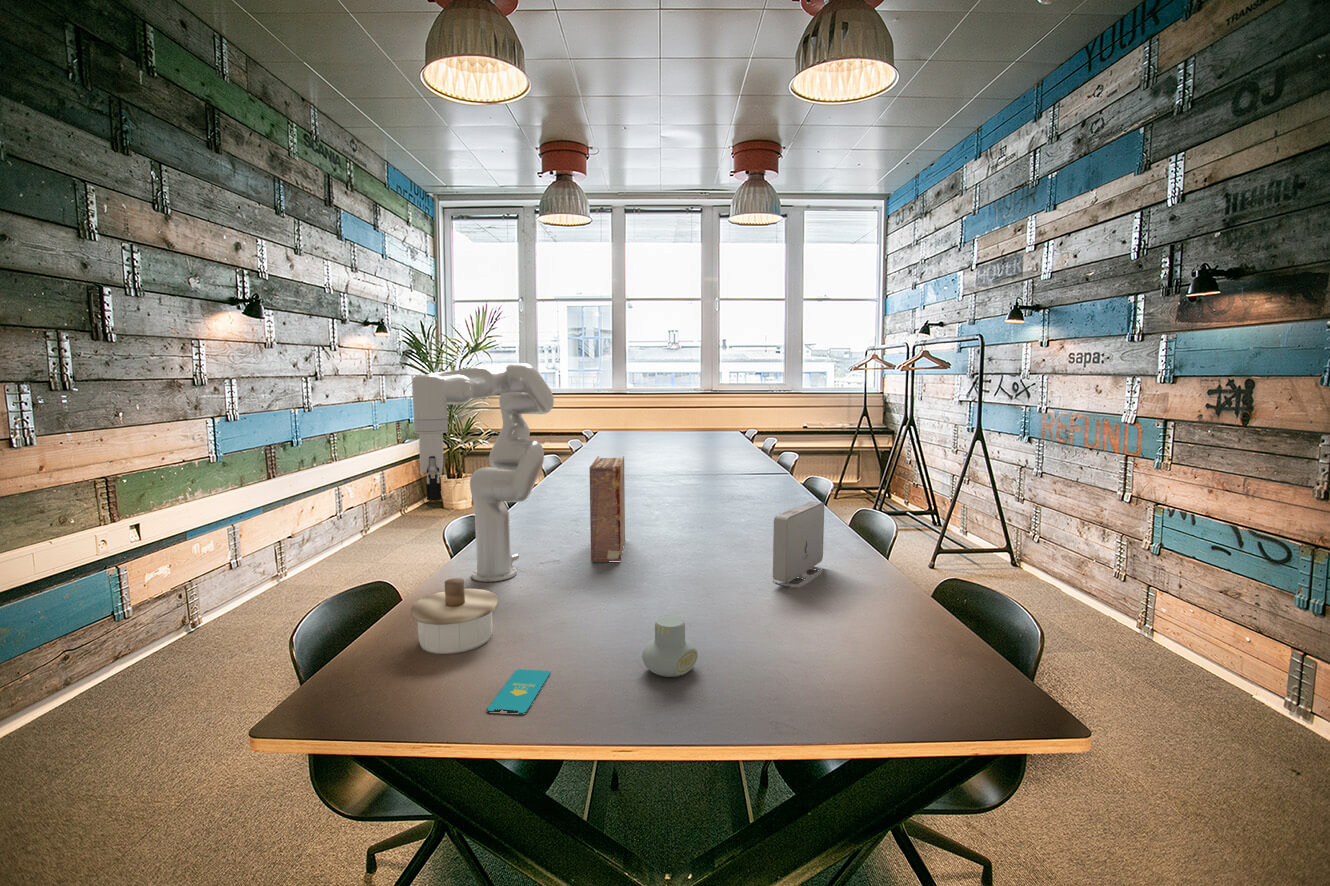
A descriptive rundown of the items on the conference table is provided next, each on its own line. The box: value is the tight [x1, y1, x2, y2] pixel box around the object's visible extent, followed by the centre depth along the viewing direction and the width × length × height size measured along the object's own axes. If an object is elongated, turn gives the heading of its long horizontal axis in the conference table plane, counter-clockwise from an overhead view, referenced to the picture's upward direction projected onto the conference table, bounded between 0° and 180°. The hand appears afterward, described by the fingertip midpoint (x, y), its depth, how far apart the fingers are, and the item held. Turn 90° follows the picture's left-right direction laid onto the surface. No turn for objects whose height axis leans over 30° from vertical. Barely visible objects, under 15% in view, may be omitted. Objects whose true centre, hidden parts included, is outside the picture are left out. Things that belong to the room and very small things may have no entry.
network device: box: [772, 500, 825, 588], centre depth 170 cm, size 26×9×20 cm, turn 143°
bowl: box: [417, 611, 494, 655], centre depth 131 cm, size 15×15×7 cm
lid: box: [410, 577, 499, 625], centre depth 130 cm, size 18×18×6 cm
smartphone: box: [486, 668, 552, 714], centre depth 109 cm, size 7×1×15 cm
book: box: [589, 455, 626, 563], centre depth 195 cm, size 25×9×30 cm, turn 1°
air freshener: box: [641, 615, 699, 678], centre depth 116 cm, size 11×8×10 cm
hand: (434, 496), depth 146 cm, fingers open, 9 cm apart
